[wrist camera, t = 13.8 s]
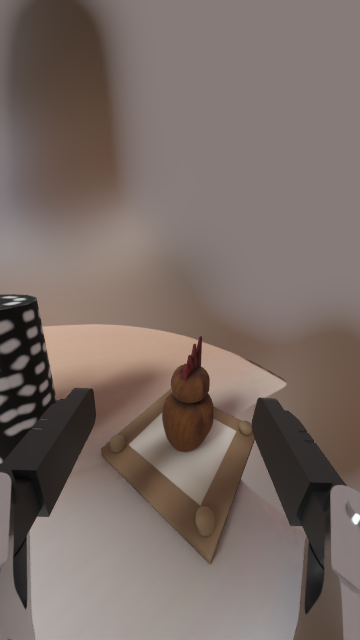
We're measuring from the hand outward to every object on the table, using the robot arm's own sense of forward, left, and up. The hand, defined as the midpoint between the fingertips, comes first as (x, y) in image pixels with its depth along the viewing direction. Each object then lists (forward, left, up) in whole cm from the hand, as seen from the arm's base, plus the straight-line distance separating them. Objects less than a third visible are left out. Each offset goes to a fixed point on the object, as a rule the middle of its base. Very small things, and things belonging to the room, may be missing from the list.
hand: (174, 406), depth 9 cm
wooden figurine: (-6, +11, -17) cm, 22 cm away
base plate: (-6, +11, -19) cm, 23 cm away
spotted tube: (-24, -2, -19) cm, 30 cm away
